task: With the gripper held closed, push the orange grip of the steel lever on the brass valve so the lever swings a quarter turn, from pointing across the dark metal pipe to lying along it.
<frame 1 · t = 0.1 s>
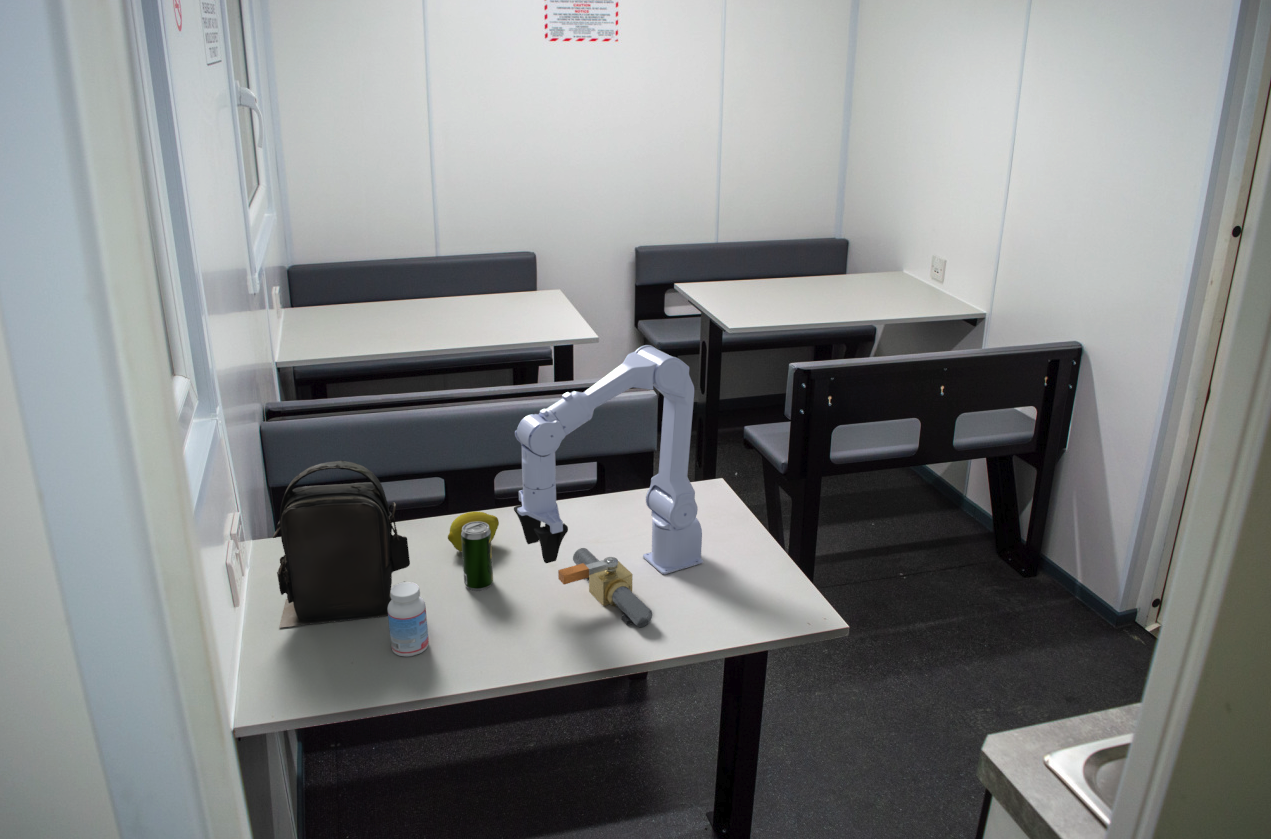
hand: (541, 551, 160), 10 cm above the table, tool pointing down, fingers open, 7 cm apart
shoulder bag: (349, 608, 160), on the table
valve pipe: (610, 594, 165), on the table
lemon: (474, 550, 180), on the table
valve lever: (610, 594, 165), resting on valve pipe, hinge at 0.0°
beer can: (478, 585, 168), on the table
pill bottle: (410, 648, 150), on the table
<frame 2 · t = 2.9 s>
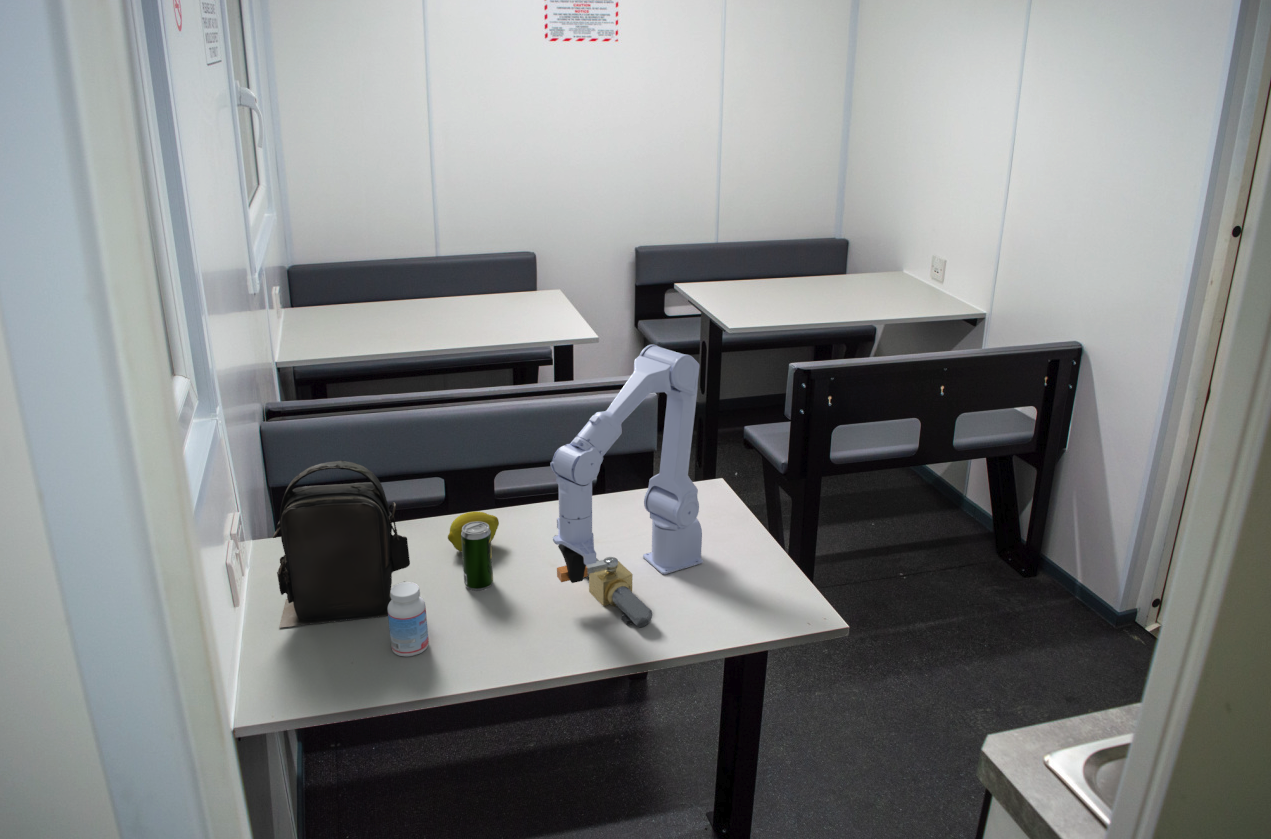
hand: (576, 580, 159), 6 cm above the table, tool pointing down, fingers closed
valve lever: (610, 594, 165), resting on valve pipe, hinge at -5.1°, touching gripper
everything else where it was.
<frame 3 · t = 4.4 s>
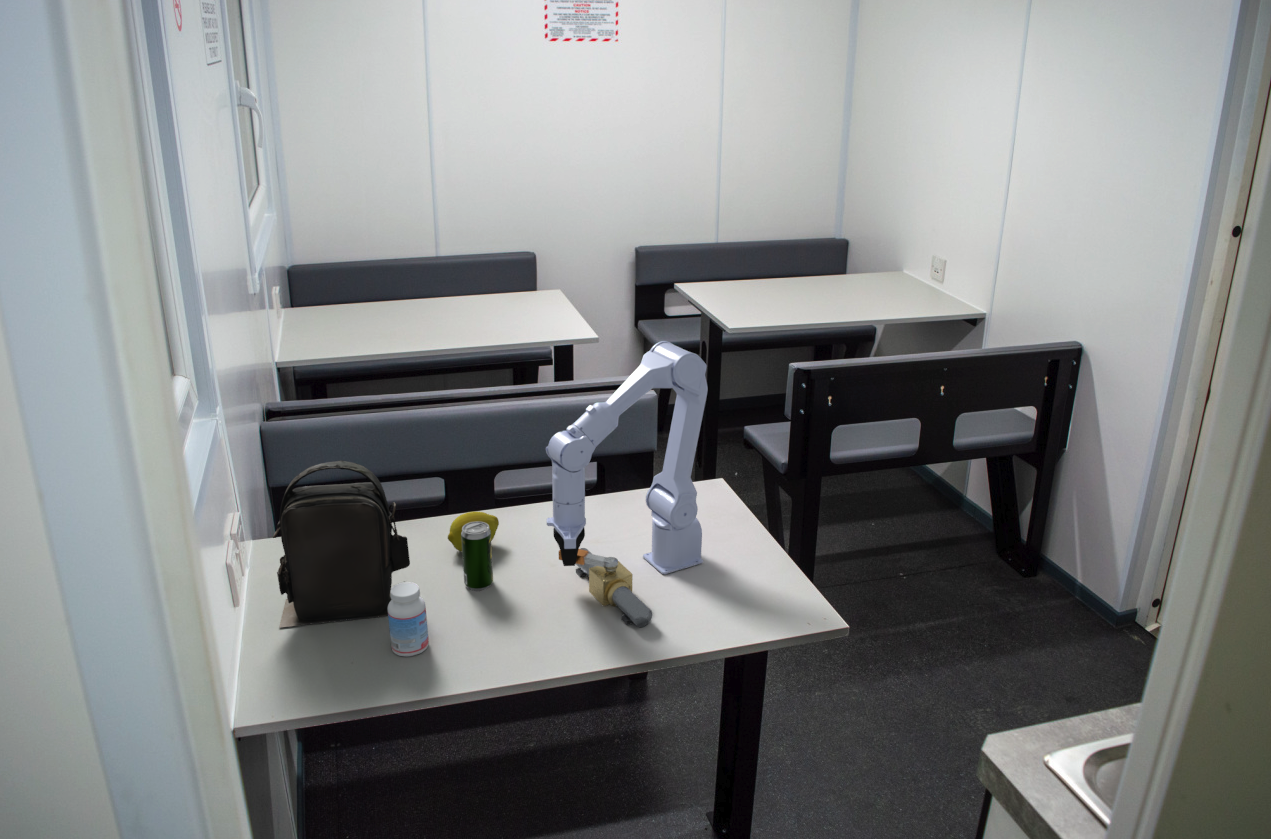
hand: (569, 564, 164), 6 cm above the table, tool pointing down, fingers closed, pressing on valve lever
valve lever: (610, 594, 165), resting on valve pipe, hinge at -51.7°, touching gripper
everything else where it was.
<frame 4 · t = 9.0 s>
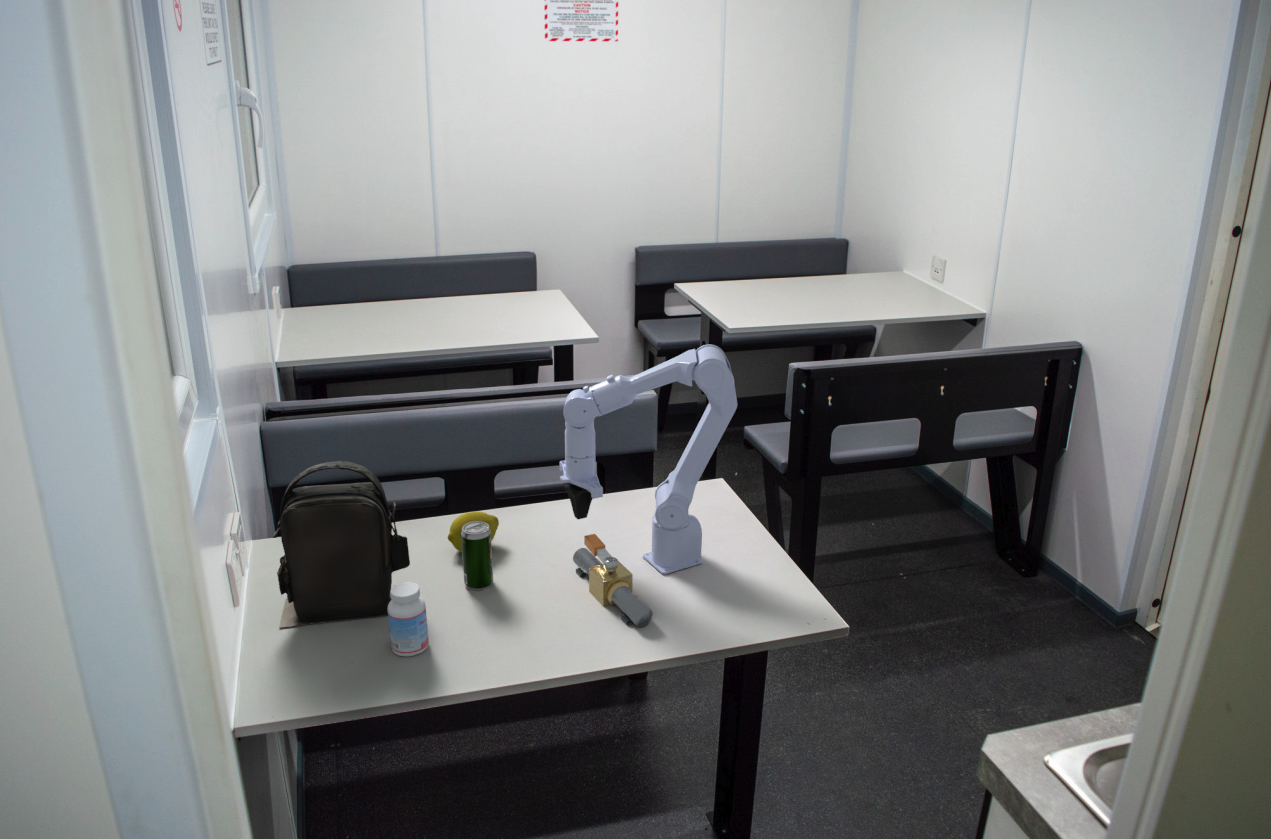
hand: (580, 517, 174), 9 cm above the table, tool pointing down, fingers closed
valve lever: (610, 594, 165), resting on valve pipe, hinge at -94.8°
everything else where it was.
at the end: valve lever at -95° (first picture: +0°); beer can moved 0.2 cm from its start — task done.
